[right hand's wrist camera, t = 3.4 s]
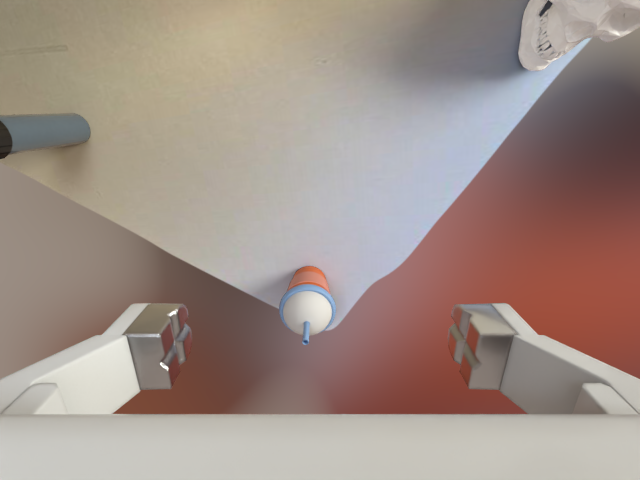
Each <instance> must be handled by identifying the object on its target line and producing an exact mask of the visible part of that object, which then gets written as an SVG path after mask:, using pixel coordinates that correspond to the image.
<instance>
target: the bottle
mask: <svg viewBox="0 0 640 480" xmlns="http://www.w3.org/2000/svg"><path fill="white" fill-rule="evenodd" d="M0 121H1V122H2V123H3V124H4V125H5V126H6V127H7V129H8V130H9V132H10V134H11V137H12V143H13V145H12V150H11V152H10V154H17V153H23V152H30V151H36V150H42V149H49V148H55V147H62V146H68V145H75V144H81V143H84V142H86V141H87V140H88V139H89V137H90V128H89V125H88V123H87V122H86V120H85V119H84V118H83V117H81V116H80V115H78V114H75V113H57V114H19V115H0ZM10 154H8V155H10Z"/></svg>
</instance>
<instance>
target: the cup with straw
mask: <svg viewBox="0 0 640 480" xmlns="http://www.w3.org/2000/svg"><path fill="white" fill-rule="evenodd" d="M279 313H280V317H281V319H282V321H283V323H284V324H285V325H286V327H288V328H289V329H290V330H292V331H293V332H295V333H297V334H300V335H303V341H302V343H303V344H304V345H307V344H308V343H309V336H310V335H315V334H317V333H320V332H322V331H324V330H325V329H327V328H328V327H329V326H330V325H331V323H332V322H333V320H334V317H335V314H336V306H335V302H334V300H333V298H332V296H331V295H330V291H329V287H328V283H327V281H326V278H325V276H324V274H323V272H322V271H321V270H320V269H318V268H316V267H312V266H306V267H303V268H300V269H299V270H298V271H297V272H296V273H295V275H294V277H293V279H292V280H291V282H290V285H289V287H288V290H287V292H286V293H285V295H284V296H283V298H282V299H281V302H280V306H279Z"/></svg>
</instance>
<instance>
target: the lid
mask: <svg viewBox="0 0 640 480" xmlns="http://www.w3.org/2000/svg"><path fill="white" fill-rule="evenodd" d="M12 145H13V143H12V137H11V134H10V132H9V130H8V129H7V127H6V126H5V125H4V124H3V123H2V122H1V121H0V159H2V158H5V157H6V156H7V155H8V154H10V152H11V150H12Z"/></svg>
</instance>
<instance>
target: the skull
mask: <svg viewBox="0 0 640 480" xmlns="http://www.w3.org/2000/svg"><path fill="white" fill-rule="evenodd" d="M547 1H548V0H530V1H529V3H528V4H527V7H526V9H525V11H524V15H523V20H522V27H521V39H520V45H519V51H518V55H519V60H520V62H521V64H522V65H523V67H525V68H526V69H528V70H529V71H539V70H543V69H545V68H546V67H547V66H548V65H549V64H550V63H551V62H553V61H554V60H556V59H558V58H560V57H561V56H562V55H564V54H566V53H567V52H569V51H570V50H571V49H573V48H574V47H575V46H576V45H577V44H579V43H580V42H581V41H583V40H584V39H586V38H591V37H598V38H600V39H602V40H603V41H605V42H611V41H614V40H616V39H618V38H621V37H623V36H625V35H627V34H629V33H631V32H632V31H634V30H636V29H637V28H639V27H640V0H549V1H550V2H552V3H553V4H552V5H551V7H550V9H547V11H546V12H545V13H544V15H542V16H541V17H540V16H539V14H540V12H541V11H542V9H543V8H544V6H545V4H546V3H547ZM546 16H547V17H546ZM540 28H541V29H540ZM545 32H546V33H545ZM544 33H545V34H544ZM546 36H547V37H546ZM539 39H540V40H539ZM548 40H549V42H547V41H548ZM546 42H547V43H546ZM544 43H545V44H544ZM542 44H544V45H542ZM550 44H551V45H552V47H550V48H549V49H547V50H546V51H545V49H546V48H547V47H548V46H549V45H550ZM539 45H542V46H541V47H540V48H539ZM541 48H542V51H540V49H541ZM553 51H554V52H553ZM542 53H543V54H542Z"/></svg>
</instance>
